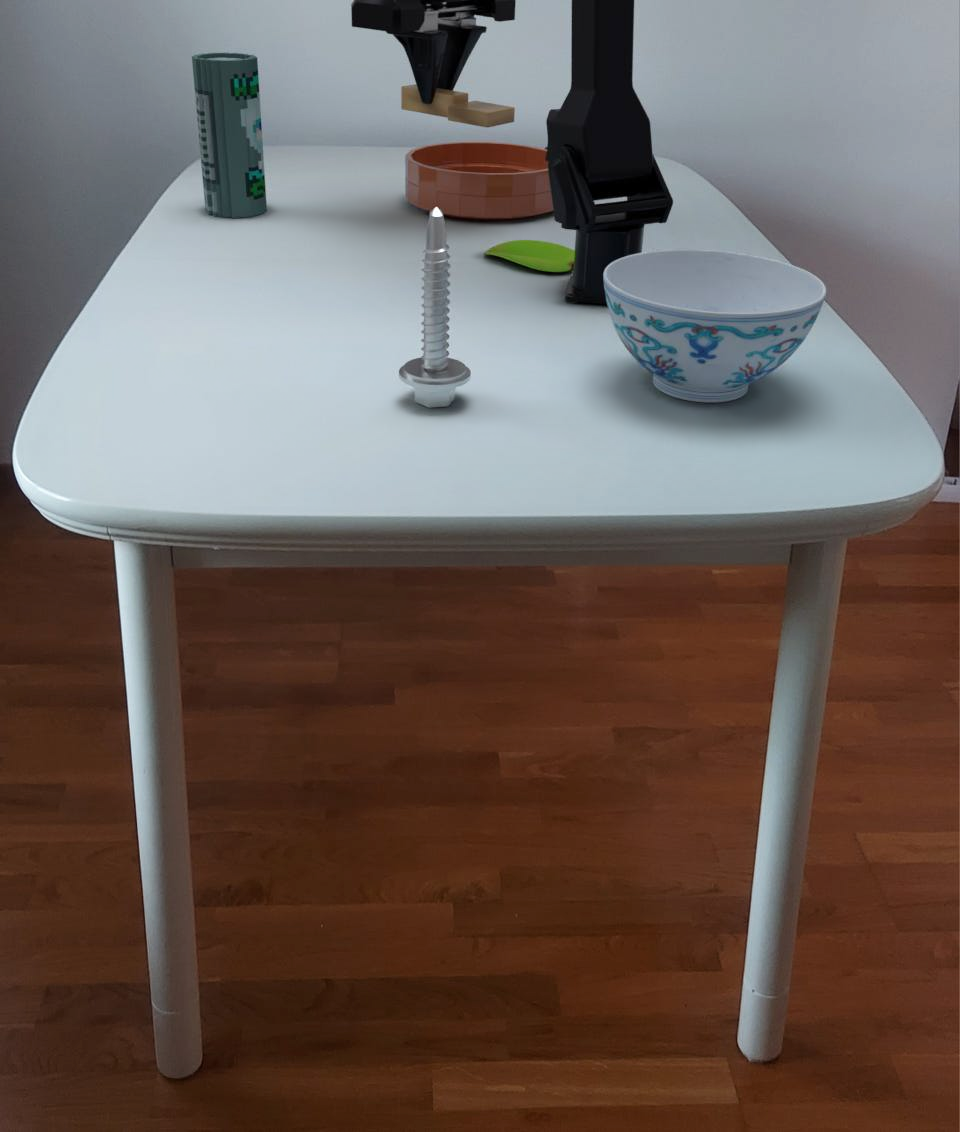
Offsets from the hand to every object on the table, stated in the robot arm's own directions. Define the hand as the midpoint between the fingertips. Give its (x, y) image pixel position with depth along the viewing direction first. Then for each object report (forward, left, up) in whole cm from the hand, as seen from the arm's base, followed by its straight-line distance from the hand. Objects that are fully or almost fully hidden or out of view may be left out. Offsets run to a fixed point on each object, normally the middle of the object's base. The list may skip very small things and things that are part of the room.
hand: (435, 102), depth 119 cm
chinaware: (-44, -27, -12) cm, 53 cm away
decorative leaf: (-16, -12, -11) cm, 23 cm away
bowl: (+6, -4, -11) cm, 14 cm away
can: (-4, +21, -12) cm, 24 cm away
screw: (-51, -9, -12) cm, 53 cm away
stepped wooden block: (-1, -2, -1) cm, 3 cm away
